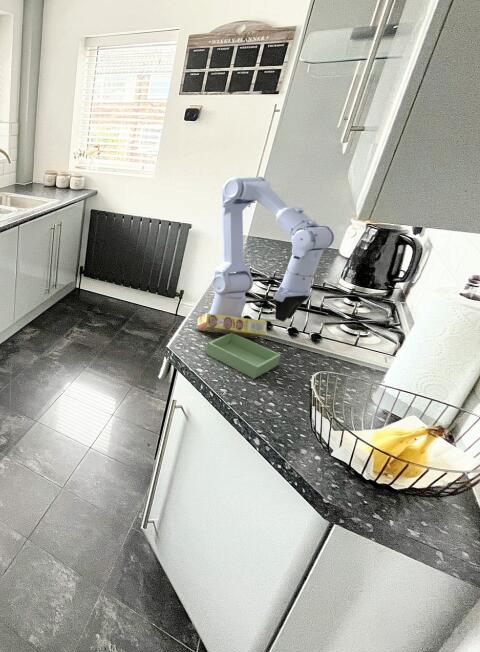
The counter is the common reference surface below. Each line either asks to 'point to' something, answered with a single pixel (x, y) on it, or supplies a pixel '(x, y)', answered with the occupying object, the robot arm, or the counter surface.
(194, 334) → the counter surface
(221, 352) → the tray
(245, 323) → the candy box
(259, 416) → the counter surface
